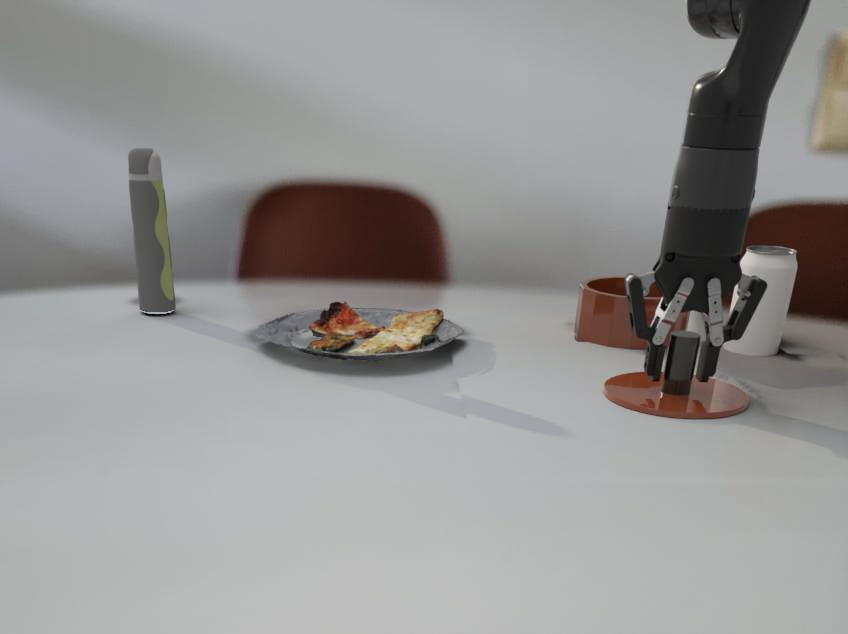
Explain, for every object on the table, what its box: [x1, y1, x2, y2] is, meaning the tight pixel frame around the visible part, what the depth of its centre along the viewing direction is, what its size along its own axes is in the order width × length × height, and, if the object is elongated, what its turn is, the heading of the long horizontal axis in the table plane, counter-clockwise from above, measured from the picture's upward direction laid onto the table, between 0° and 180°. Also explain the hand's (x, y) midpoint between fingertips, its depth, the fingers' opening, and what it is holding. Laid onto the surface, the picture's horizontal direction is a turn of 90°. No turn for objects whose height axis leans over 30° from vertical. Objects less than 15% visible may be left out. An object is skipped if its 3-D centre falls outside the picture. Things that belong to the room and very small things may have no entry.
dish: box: [573, 275, 691, 351], centre depth 122 cm, size 14×19×6 cm
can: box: [722, 245, 799, 357], centre depth 116 cm, size 6×6×12 cm
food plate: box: [254, 300, 465, 364], centre depth 118 cm, size 25×23×4 cm
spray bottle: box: [127, 147, 177, 312], centre depth 128 cm, size 5×5×20 cm
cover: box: [602, 330, 750, 420], centre depth 100 cm, size 15×15×7 cm
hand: (677, 379), depth 101 cm, fingers open, 4 cm apart
